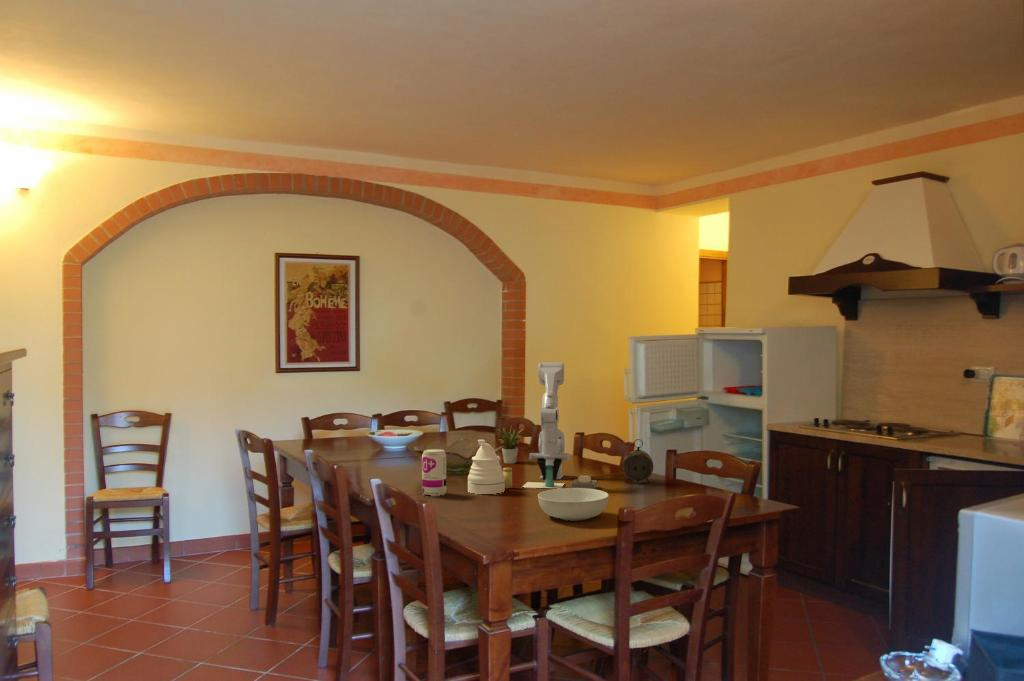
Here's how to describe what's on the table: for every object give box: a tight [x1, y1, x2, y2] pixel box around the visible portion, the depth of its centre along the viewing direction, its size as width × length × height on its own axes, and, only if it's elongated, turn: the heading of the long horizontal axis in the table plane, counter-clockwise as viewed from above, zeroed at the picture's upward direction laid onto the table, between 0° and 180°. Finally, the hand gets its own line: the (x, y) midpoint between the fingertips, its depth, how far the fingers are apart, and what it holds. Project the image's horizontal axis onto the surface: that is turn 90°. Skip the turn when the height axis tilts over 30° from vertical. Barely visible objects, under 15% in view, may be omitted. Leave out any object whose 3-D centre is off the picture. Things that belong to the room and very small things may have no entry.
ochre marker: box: [502, 467, 513, 489], centre depth 266 cm, size 3×3×7 cm
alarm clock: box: [622, 438, 654, 485], centre depth 274 cm, size 11×5×16 cm, turn 84°
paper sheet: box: [521, 481, 566, 489], centre depth 269 cm, size 10×14×1 cm
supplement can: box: [421, 448, 447, 497], centre depth 255 cm, size 8×8×15 cm
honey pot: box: [467, 439, 506, 495], centre depth 261 cm, size 13×13×18 cm
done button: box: [577, 475, 592, 483], centre depth 264 cm, size 4×4×3 cm
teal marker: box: [544, 465, 555, 486], centre depth 267 cm, size 3×3×7 cm
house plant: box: [495, 425, 524, 464], centre depth 324 cm, size 14×14×16 cm
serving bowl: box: [537, 487, 610, 522], centre depth 221 cm, size 21×21×7 cm
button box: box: [571, 479, 598, 490], centre depth 264 cm, size 8×8×2 cm
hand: (549, 479), depth 267 cm, fingers open, 3 cm apart
